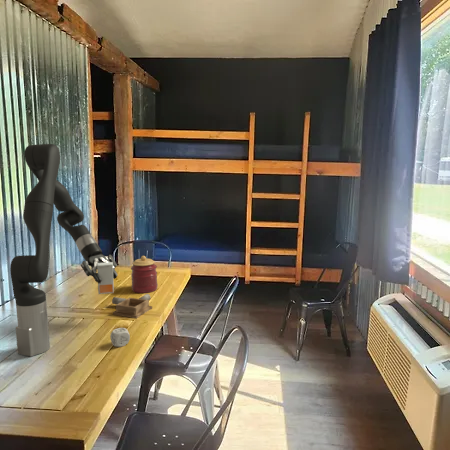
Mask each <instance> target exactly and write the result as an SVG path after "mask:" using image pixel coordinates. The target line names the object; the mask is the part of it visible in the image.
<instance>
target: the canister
mask: <svg viewBox="0 0 450 450" xmlns="http://www.w3.org/2000/svg"><path fill="white" fill-rule="evenodd" d="M155 263H156V261H155V260H153V259H152V258H147V257H146V256H145V255H141V257H140V258H138V259H135V260H134V261H133V262H132V263H131V264H132V266H131V267H130V270H131V274H130V276H131V290H132V292H133V293H136V294H148V293H152V292H154V291H157V289H158V272H157V267H158V266H157V265H156V264H155Z"/></svg>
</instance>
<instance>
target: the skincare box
mask: <svg viewBox="0 0 450 450" xmlns="http://www.w3.org/2000/svg"><path fill="white" fill-rule="evenodd" d="M96 273H98V274H99V276H100V278H101V280H102V281H101V283H97V287H98V288H97V291H98V295H104V294H105V295H106V294H114V291H115V286H114V282H115V281H114V278H113V262H104V263H98V264H97V272H96Z"/></svg>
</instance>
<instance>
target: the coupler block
mask: <svg viewBox="0 0 450 450" xmlns="http://www.w3.org/2000/svg"><path fill="white" fill-rule="evenodd" d="M151 299H152V297H151V295H150V294H148V293H145V294H144V295H142V296H141V297H139V298H135V297H128V298H125V297H116V296H114V297H112V299H111V303H112V304H113V305H115V310H114V311H112V315H114V316H120V317H127V318H132V319H133V318H134V319H138V318H139V317H141V316H143V315H144V314H145V313H147V312H149V311H151V310H152V309H153V306H152V305H150V302H149V301H150V300H151Z"/></svg>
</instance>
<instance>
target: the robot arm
mask: <svg viewBox="0 0 450 450" xmlns="http://www.w3.org/2000/svg"><path fill="white" fill-rule="evenodd" d="M23 152H24V153H23V154H24V155H23V156H24V160H25V163H26V165H27V166H28V168H29V170H30V171H31V173H32V174H33V175H34V176H35V178H36V179H37V180H38V181H37V183H36V184H35V186H34V187H33V188H32V189H31V191H30V192H29V193H28V195H27V196H26V198H25V201H24V205H23V213H22V214H23V215H22V217H23V218H22V219H23V222H24V224H25V225H26V227H27V229H28V230H29V232H30V233H31V236H32V237H33V240H34V242H35V243H34V244H35V254H33V255H32V254H31V255H27V254H26V255H16V256H14V257H13V258H12V259H11V261H10V267H9V271H10V272H9V274H10V279H11V284H12V285H11V286H12V292H13V297H14V300H15V308H16V319H17V320H16V321H17V326H15V336H16V337H15V338H16V339H15V340H16V346H17V348H16V349H17V354H18V355H23V356H27V357H33V356H36V355H39V354H42V353H45V352H47V351H48V350H49V349H50V347H51V342H50V332H49V319H48V308H47V307H48V306H47V297H46V296H47V294H46V292H45V291H44V290H42V289H39V288H36V287H34V286H33V285H32V284H34V283H35V284H36V283H37V284H39V283H44V282H45V281H46V280H47V279H48V274H49V271H50V268H49V267H50V238H51V228H52V221H53V213H54V207H55V208H56V210H57V211H59V212H60V213H58V214H57V216H56V221H57V223H58V225H59V226H60V227H61V228H62V229H64V230H65V232H67V233H68V234H69V235H70V236H71V238H72V239H73V241H74V243H75V245H76V247H77V249H78V251H79V252H80V254H81V256H82V258H83V259H84V260H82V262H81V264H80V267H81V268H82V271H83V273H84V274H85V275H86V277H90V276H91V277H93V279H94V280H95V282H96V283H97V284H98V283H101V281H102V280H101V278H100V276H99V274H98V272H97V264H98V263H104V262H113V280H115V279H117V278H118V272H117V270H116V267H117V266H118V264H117V262H116V261H115V259H114V257H113V255H112V254H109V255H108V256H105V255H104V253H103V250H102V249H101V247H100V246H99V244H98V242H97V241H96V239H95V237H94V236H93V235H92V234H91V232H90V230H89V229H88V227H87V226H86V225H85V224H80V223H82V222H83V221H84V218H85V216H84V213H83V211H82V210H81V208H79V206H78V205H77V204H75V202H74V201H73V199H72V197H71V195H70V192H69V190H68V188H67V187H66V186H65V185H64V184H62V183H61V181H59V180H58V179H57V178H58V175H59V174H58V173H59V169H60V164H61V152H60V148H59V147H58V146H57V144H52V143H42V144H39V143H38V144H30V145H27V146H26V147H25V149H24V151H23ZM78 224H79V225H78Z"/></svg>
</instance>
